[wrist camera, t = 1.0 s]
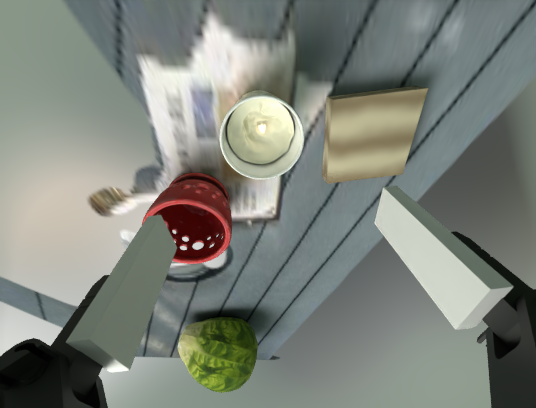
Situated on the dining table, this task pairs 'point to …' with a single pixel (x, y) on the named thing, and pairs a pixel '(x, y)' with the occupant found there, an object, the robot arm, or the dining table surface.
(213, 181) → the plant pot
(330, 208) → the dining table surface
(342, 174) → the plinth
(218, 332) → the lettuce
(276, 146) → the candle holder
